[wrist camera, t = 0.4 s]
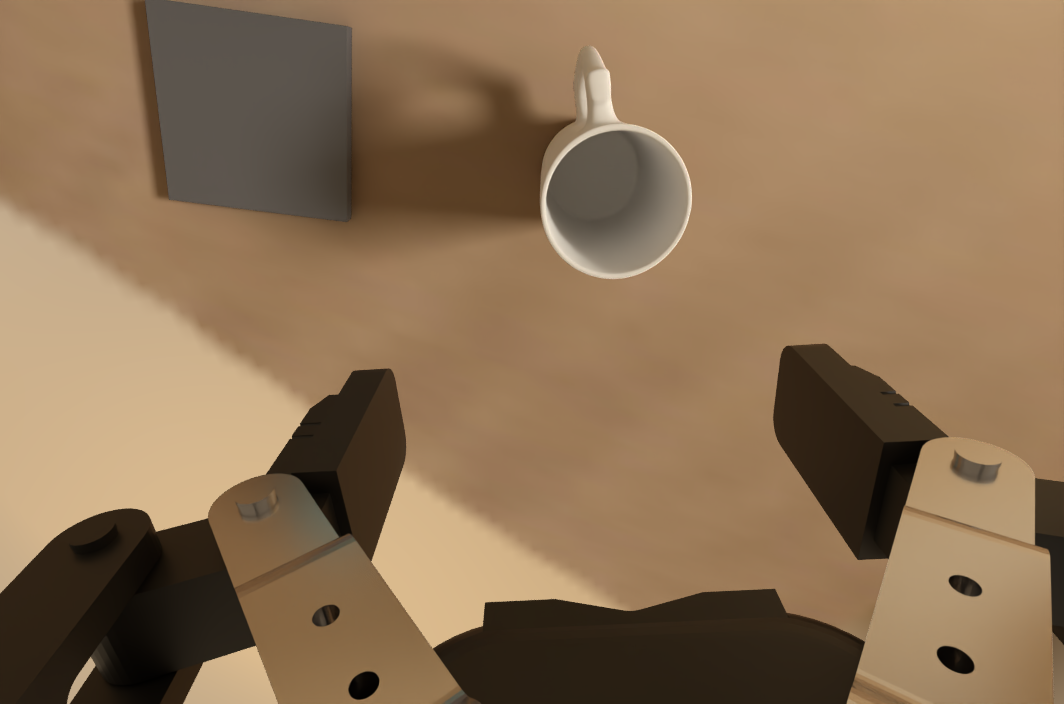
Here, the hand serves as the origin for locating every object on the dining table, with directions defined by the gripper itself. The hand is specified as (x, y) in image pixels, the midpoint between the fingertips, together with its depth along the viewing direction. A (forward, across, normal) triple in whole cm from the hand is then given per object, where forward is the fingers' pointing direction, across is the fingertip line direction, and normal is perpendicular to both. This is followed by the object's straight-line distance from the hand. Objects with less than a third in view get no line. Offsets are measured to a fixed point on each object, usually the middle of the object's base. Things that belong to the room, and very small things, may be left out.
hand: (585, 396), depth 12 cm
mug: (+28, -2, -2) cm, 28 cm away
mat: (+28, +17, -5) cm, 33 cm away
